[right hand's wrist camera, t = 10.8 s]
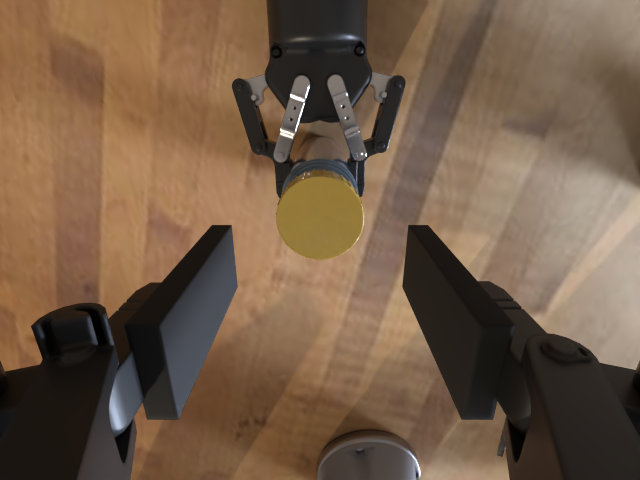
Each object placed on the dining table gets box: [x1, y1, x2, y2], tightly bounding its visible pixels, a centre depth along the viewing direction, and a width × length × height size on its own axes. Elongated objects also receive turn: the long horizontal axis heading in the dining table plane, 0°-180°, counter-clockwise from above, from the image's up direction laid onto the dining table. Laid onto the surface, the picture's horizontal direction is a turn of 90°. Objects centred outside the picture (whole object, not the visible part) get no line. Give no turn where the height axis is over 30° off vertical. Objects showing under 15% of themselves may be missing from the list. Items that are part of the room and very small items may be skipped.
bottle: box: [282, 136, 358, 193], centre depth 28 cm, size 5×5×20 cm
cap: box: [276, 169, 364, 260], centre depth 19 cm, size 5×5×2 cm
